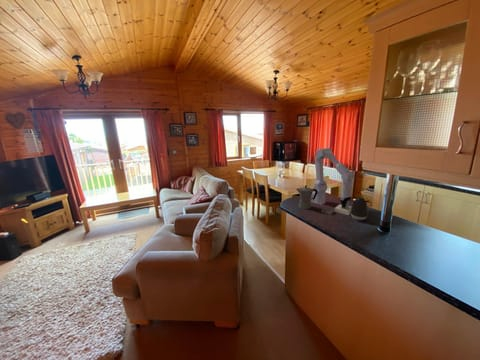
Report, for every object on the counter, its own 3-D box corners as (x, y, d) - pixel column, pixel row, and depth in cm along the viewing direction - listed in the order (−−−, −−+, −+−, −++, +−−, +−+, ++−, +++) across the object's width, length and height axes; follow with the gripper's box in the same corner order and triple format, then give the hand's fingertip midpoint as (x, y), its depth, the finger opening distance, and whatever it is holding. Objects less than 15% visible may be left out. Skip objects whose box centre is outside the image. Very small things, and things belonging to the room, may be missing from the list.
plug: (341, 209, 146) (342, 199, 144) (343, 208, 148) (344, 198, 146) (346, 210, 143) (347, 201, 141) (348, 209, 146) (349, 199, 143)
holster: (320, 212, 147) (320, 209, 146) (324, 209, 151) (324, 206, 150) (331, 215, 141) (331, 212, 141) (335, 212, 145) (335, 209, 144)
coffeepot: (295, 209, 154) (295, 186, 150) (296, 204, 163) (297, 183, 158) (316, 211, 149) (318, 188, 144) (316, 206, 158) (318, 184, 153)
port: (334, 211, 146) (334, 207, 146) (339, 207, 153) (340, 203, 152) (349, 215, 139) (349, 211, 138) (354, 211, 146) (354, 207, 145)
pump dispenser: (363, 223, 128) (366, 201, 124) (346, 218, 136) (349, 197, 132) (370, 218, 134) (373, 197, 130) (354, 213, 142) (356, 193, 138)
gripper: (348, 192, 134) (346, 211, 138) (356, 187, 143) (354, 205, 147) (337, 190, 139) (336, 208, 143) (345, 185, 148) (344, 202, 152)
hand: (344, 206), depth 145 cm, fingers closed on plug, 3 cm apart
